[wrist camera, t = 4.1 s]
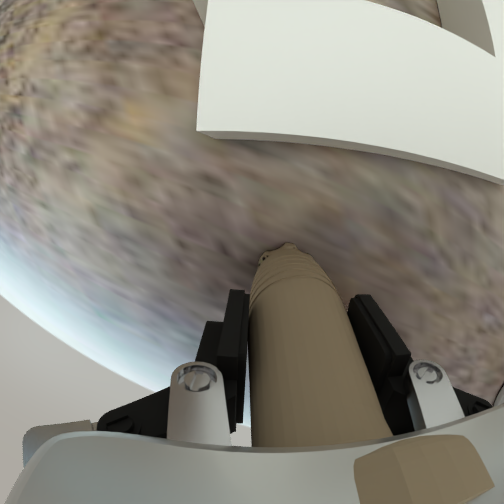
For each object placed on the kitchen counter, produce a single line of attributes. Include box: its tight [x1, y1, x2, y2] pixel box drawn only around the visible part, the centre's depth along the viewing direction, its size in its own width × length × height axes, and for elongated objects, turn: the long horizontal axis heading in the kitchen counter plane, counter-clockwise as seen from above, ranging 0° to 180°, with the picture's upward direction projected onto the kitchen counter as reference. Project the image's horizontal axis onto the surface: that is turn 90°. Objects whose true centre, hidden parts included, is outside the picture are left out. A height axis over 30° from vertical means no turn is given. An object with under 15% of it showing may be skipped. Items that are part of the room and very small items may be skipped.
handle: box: [248, 243, 495, 504], centre depth 10 cm, size 5×6×15 cm
